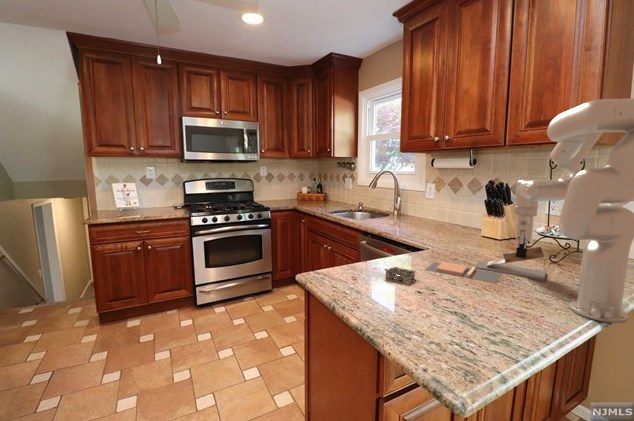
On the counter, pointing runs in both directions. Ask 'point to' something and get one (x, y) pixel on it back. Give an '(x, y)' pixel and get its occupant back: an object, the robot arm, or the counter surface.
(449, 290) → the counter surface
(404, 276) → the mottled grey block
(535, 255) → the turner
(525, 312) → the counter surface
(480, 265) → the slate board
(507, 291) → the counter surface
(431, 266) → the tile mat
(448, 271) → the tile
